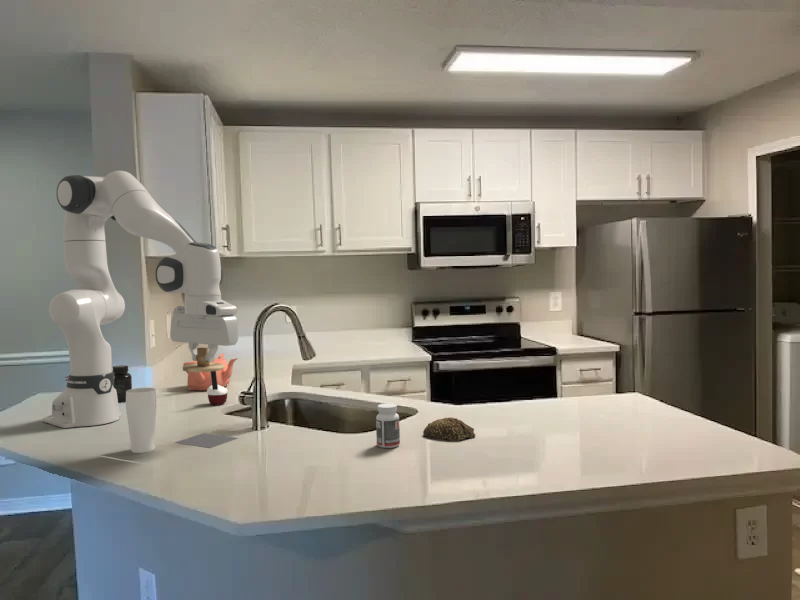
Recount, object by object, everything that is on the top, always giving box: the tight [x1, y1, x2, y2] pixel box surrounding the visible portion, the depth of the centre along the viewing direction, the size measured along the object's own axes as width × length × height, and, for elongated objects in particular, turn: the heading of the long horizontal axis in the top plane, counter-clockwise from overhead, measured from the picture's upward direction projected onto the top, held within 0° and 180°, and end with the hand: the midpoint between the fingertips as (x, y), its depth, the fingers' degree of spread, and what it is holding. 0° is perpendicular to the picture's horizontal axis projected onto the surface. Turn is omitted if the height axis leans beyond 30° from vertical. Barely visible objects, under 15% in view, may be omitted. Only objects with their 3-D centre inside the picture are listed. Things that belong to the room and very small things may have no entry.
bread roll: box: [422, 417, 476, 442], centre depth 161 cm, size 13×12×5 cm
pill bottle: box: [375, 403, 401, 449], centre depth 152 cm, size 6×6×10 cm
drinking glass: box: [125, 387, 157, 454], centre depth 150 cm, size 7×7×15 cm
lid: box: [182, 346, 224, 373], centre depth 158 cm, size 10×10×5 cm
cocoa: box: [206, 371, 228, 406], centre depth 204 cm, size 10×6×12 cm, turn 160°
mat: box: [174, 432, 239, 449], centre depth 158 cm, size 12×10×1 cm
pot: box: [182, 353, 239, 391], centre depth 235 cm, size 18×17×12 cm
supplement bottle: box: [112, 364, 133, 404], centre depth 212 cm, size 7×7×12 cm
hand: (203, 361), depth 158 cm, fingers closed on lid, 3 cm apart
